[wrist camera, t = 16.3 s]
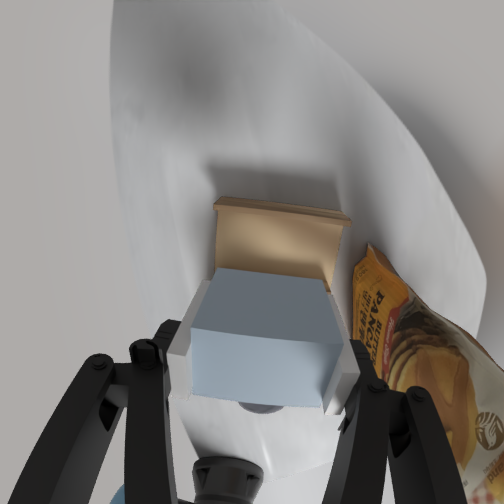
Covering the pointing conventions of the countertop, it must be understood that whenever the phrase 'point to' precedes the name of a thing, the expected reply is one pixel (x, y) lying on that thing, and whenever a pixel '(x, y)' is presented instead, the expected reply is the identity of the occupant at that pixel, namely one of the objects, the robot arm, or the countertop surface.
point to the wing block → (264, 339)
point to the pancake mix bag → (435, 370)
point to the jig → (278, 238)
